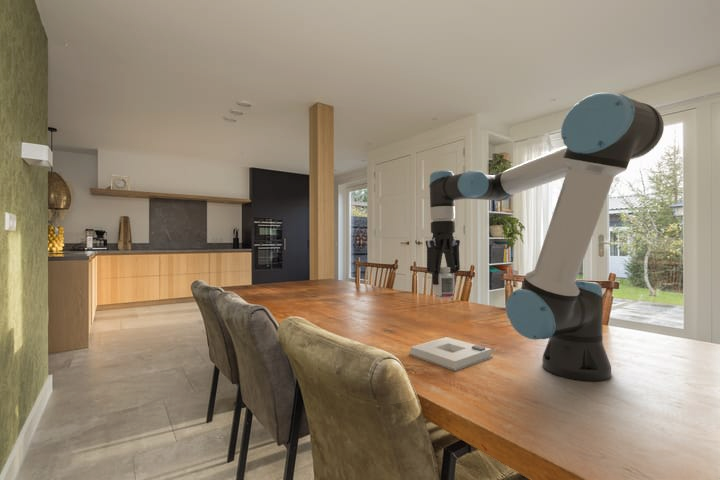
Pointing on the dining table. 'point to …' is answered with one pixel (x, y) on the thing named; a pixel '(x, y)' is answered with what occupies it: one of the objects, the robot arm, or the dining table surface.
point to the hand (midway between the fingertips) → (444, 293)
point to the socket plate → (451, 353)
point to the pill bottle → (446, 283)
